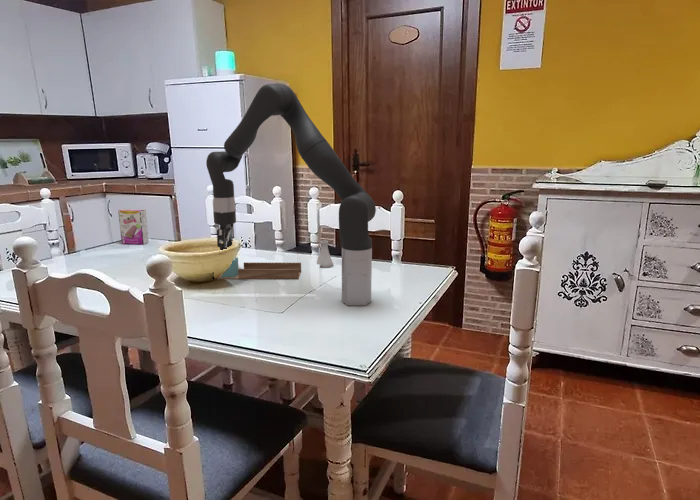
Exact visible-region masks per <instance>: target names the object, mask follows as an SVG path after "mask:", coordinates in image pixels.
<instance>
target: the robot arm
mask: <svg viewBox="0 0 700 500" xmlns="http://www.w3.org/2000/svg"><path fill="white" fill-rule="evenodd" d="M272 116H275V117H276V116H281V117H282V119H283V120H284V121H285V122H286V124H288V126H289V127H290V129H291V131H292V132H293V134H294V140H295V144H296V149H297V152H298V154H299V156H300V158H301V159H302V160H303V162H304V163H305V164H306V165H307V167H308V168H309V170H310V171H311V172H312V173H313V174H314V175H315V176H316V177H317V178H318V179H320V180H321V181H323V182H324V183H325V184H326V185H328V186H329V187H330V188H332V190H333V191H334V192H335V193H336V194H337V195H338V197H339V198H340V200H341V202H340V204H339V209H338V232H339V233H338V235H339V239H340V241H341V302H342V303H343V304H345V305H346V306H368V304H370V303H371V302H372V273H373V272H372V271H373V270H372V269H373V266H372V265H373V263H372V262H373V258H372V257H373V239H372V237H371V236H370V235H369V222H371V221H372V220H373V219H374V217H375V215H376V211H377V209H376V207H377V206H376V204H375V201H374V199H373V198H372V197H371V196H370V195H369V193H368V192H367V191H366V190H365V189H364V188H363V187H362V186H361V185H360V184H359V182H357V180H356V179H355V178H354V177H353V175H352V174H351V172H350V171H349V170H348V168H347V166H346V165H345V164H344V163H343V161H342V160H341V158H340V157H339V156H338V154H337V153H336V151H335V150H334V149H333V147H332V145H330V143H329V141H327V139H326V138H325V137H324V135H323V134H322V133H321V131H320V130H319V129H318V128H317V126H316V124H315V123H314V122H313V121H312V119H311V118H310V116H309V115H308V113H307V112H306V110H305V108H304V106H303V105H302V104H301V102H300V99H298V96H297V95H296V94H295V92H294V91H293V89H292V88H291V87H289V86H288V85H287V84H284V83H267V84H264V85H262V86H261V87H260V88H259V89H258V90H257V92H256V94H255V96H254V98H253V100H252V101H251V103H250V104H249V107H248V108H247V110H246V112H245V114H244V116H243V118H242V119H241V121H240V122H239V123H238V125H237V126H236V127H235V129H234V130H233V131H232V132H231V133H230V135H229V136H228V137H227V138H226V140H225V141H224V143H223V149H224V151H211V152H210V153H208V155H207V157H206V164H205V165H206V169H207V172H208V174H209V178H210V180H211V184H212V193H213V194H212V197H213V200H212V207H213V209H212V210H213V223H214V224H216V225H219V229H216V242H217V243H216V244H217V248H219V251H220V250H223V249H227V247H229V246H231V245H232V244H233V242H234V239H235V231H234V224H236V223H237V215H236V213H237V212H236V200H235V187H234V182H233V180H232V179H227V178H226V177H225V174H224V173H230V172H233V171H235V170H236V169H237V168H238V167H239V165H240V162H241V161H242V158H243V155H244V154H245V153H246V152H247V151H248V149H249V148H250V147H251V146H252V144H253V143H254V142H255V141H256V138H257V134H258V131H259V129H260V127H261V125H262V124H263V123H264V122H265V121H266V120H268V119H269V118H271V117H272Z"/></svg>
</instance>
